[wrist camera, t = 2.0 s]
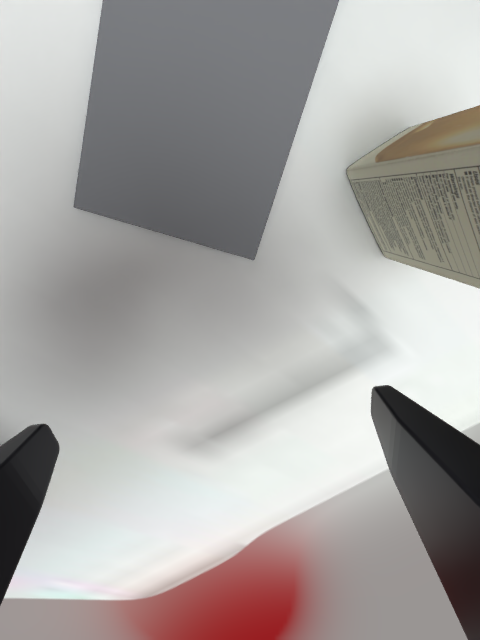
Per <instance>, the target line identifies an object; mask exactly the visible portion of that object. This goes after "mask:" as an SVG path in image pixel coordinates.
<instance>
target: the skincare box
mask: <svg viewBox="0 0 480 640" xmlns="http://www.w3.org/2000/svg"><path fill="white" fill-rule="evenodd" d="M347 176H348V178H349V180H350V183H351V185H352V188H353V190H354V192H355V195H356V197H357V199H358V202H359V204H360V206H361V208H362V211H363V213H364V215H365V217H366V219H367V222H368V224H369V226H370V228H371V230H372V232H373V234H374V236H375V239H376V241H377V243H378V245H379V247H380V249H381V251H382V253H383V255H384V256H385V257H386V258H388V259H391V260H394V261H397V262H400V263H403V264H406V265H410V266H412V267H416V268H419V269H422V270H425V271H428V272H431V273H434V274H437V275H440V276H443V277H446V278H449V279H453V280H456V281H459V282H462V283H465V284H468V285H471V286H474V287H477V288H480V105H479V106H476V107H473V108H470V109H467V110H464V111H460V112H457V113H454V114H451V115H448V116H445V117H442V118H438V119H435V120H432V121H428V122H425V123H422V124H419V125H415V126H412V127H410V128H408V129H406V130H405V131H403V132H401V133H400V134H398V135H396V136H395V137H393V138H391V139H390V140H388V141H387V142H385V143H384V144H382V145H381V146H379V147H377V148H376V149H374V150H373V151H371V152H370V153H368V154H367V155H365V156H364V157H362V158H361V159H359V160H358V161H356V162H355V163H353V164H352V165H351V166H349V167H348V169H347Z"/></svg>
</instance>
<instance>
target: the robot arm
mask: <svg viewBox="0 0 480 640" xmlns="http://www.w3.org/2000/svg"><path fill="white" fill-rule="evenodd" d="M371 416H372V419H373V422H374V425H375V428H376V431H377V434H378V437H379V440H380V443H381V446H382V449H383V452H384V455H385V458H386V461H387V464H388V467H389V470H390V472H391V475H392V477H393V479H394V482H395V484H396V486H397V488H398V490H399V492H400V495H401V497H402V499H403V501H404V503H405V505H406V508H407V510H408V512H409V514H410V516H411V518H412V520H413V523H414V525H415V527H416V529H417V531H418V533H419V536H420V538H421V539H422V542H423V544H424V546H425V548H426V551H427V553H428V555H429V557H430V559H431V561H432V563H433V565H434V568H435V570H436V572H437V574H438V576H439V578H440V580H441V583H442V585H443V587H444V589H445V591H446V593H447V595H448V598H449V600H450V602H451V604H452V606H453V608H454V611H455V613H456V615H457V617H458V619H459V621H460V623H461V626H462V628H463V630H464V632H465V634H466V636H467V639H468V640H480V445H479V444H478V443H476V442H475V441H473V440H472V439H470V438H469V437H467V436H466V435H464V434H463V433H461V432H460V431H458V430H457V429H455V428H454V427H452V426H451V425H449V424H448V423H446V422H445V421H443V420H442V419H440V418H439V417H437V416H435V415H434V414H432V413H431V412H429V411H428V410H426V409H425V408H423V407H422V406H420V405H419V404H417V403H416V402H414V401H413V400H411V399H410V398H408V397H407V396H405V395H404V394H402V393H401V392H399V391H397V390H396V389H394V388H393V387H391V386H389V385H383V386H375V387H373V389H372V397H371ZM58 454H59V443H58V441H57V440H56V438H55V436H54V434H53V433H52V431H51V429H50V427H49V426H48V425H46V424H37V425H31V426H29V427H27V428H26V429H24V430H23V431H22V432H20V433H19V434H17V435H16V436H15V437H13V438H12V439H10V440H9V441H7V442H6V443H5V444H3V445H2V446H0V605H1V603H2V601H3V598H4V596H5V594H6V591H7V589H8V586H9V584H10V582H11V579H12V577H13V574H14V572H15V570H16V567H17V565H18V563H19V560H20V558H21V555H22V553H23V551H24V548H25V546H26V543H27V541H28V539H29V536H30V534H31V531H32V529H33V527H34V524H35V522H36V520H37V517H38V515H39V512H40V510H41V507H42V504H43V501H44V498H45V495H46V492H47V489H48V486H49V483H50V479H51V476H52V473H53V470H54V467H55V464H56V460H57V457H58Z"/></svg>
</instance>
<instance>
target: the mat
mask: <svg viewBox="0 0 480 640" xmlns="http://www.w3.org/2000/svg"><path fill="white" fill-rule="evenodd" d="M338 2H339V0H103V3H102V10H101V17H100V24H99V32H98V39H97V46H96V53H95V60H94V67H93V74H92V81H91V88H90V95H89V102H88V109H87V116H86V123H85V130H84V137H83V144H82V151H81V158H80V165H79V173H78V180H77V187H76V194H75V201H74V207H75V208H78V209H81V210H85V211H88V212H92V213H95V214H98V215H102V216H105V217H109V218H112V219H115V220H119V221H122V222H126V223H129V224H132V225H136V226H139V227H143V228H146V229H149V230H153V231H156V232H160V233H163V234H166V235H170V236H173V237H177V238H180V239H183V240H187V241H190V242H194V243H197V244H201V245H204V246H207V247H211V248H214V249H218V250H221V251H224V252H228V253H231V254H235V255H238V256H241V257H245V258H248V259H252V260H254V259H255V256H256V253H257V250H258V247H259V244H260V241H261V238H262V235H263V232H264V229H265V226H266V222H267V219H268V216H269V213H270V210H271V207H272V204H273V201H274V198H275V195H276V192H277V189H278V186H279V183H280V180H281V177H282V174H283V170H284V167H285V164H286V161H287V158H288V155H289V152H290V149H291V146H292V143H293V140H294V137H295V134H296V131H297V128H298V125H299V122H300V118H301V115H302V112H303V109H304V106H305V103H306V100H307V97H308V94H309V91H310V88H311V85H312V82H313V79H314V76H315V73H316V70H317V66H318V63H319V60H320V57H321V54H322V51H323V48H324V45H325V42H326V39H327V36H328V33H329V30H330V27H331V24H332V21H333V18H334V14H335V11H336V8H337V5H338Z"/></svg>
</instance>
